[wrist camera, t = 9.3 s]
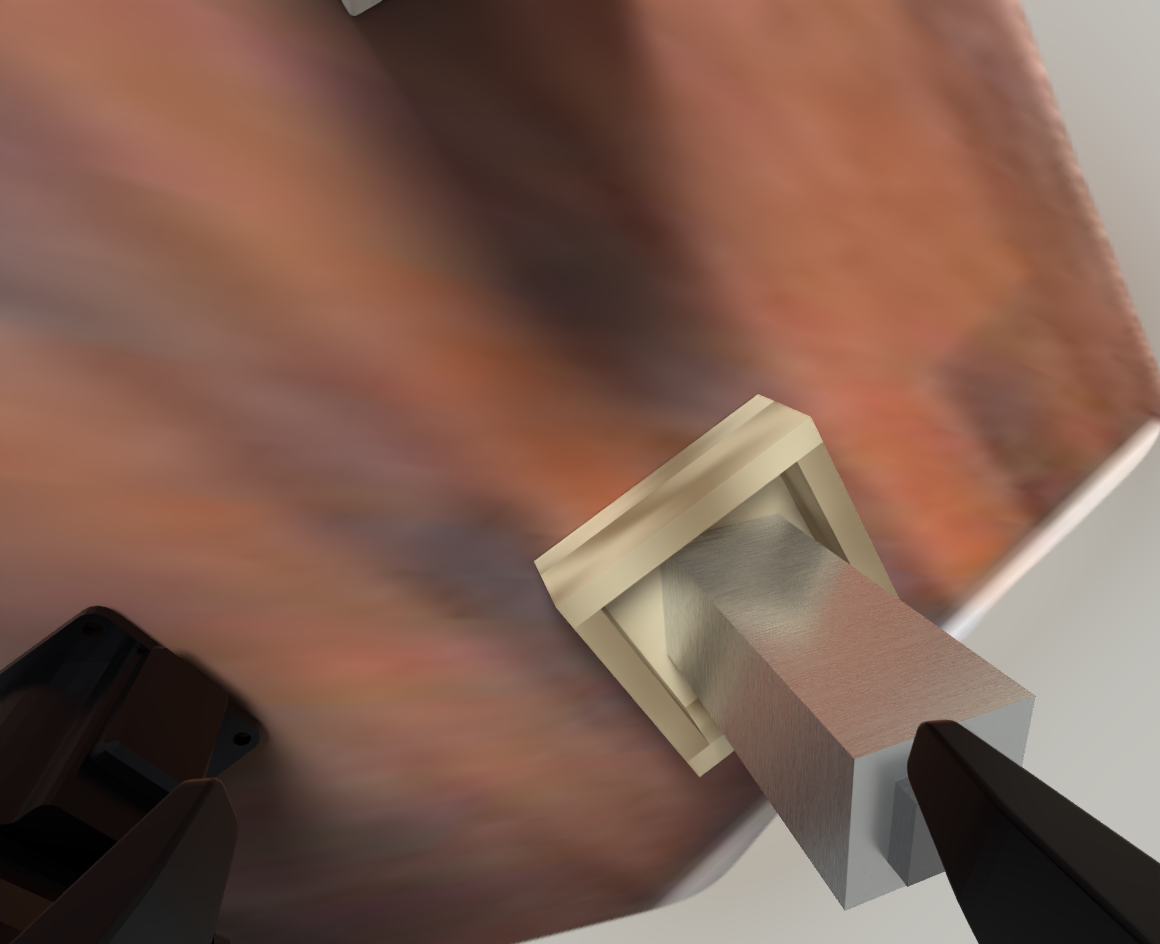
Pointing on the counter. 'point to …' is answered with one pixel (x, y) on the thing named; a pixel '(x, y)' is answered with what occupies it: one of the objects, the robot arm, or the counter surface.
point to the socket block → (828, 693)
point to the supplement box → (358, 5)
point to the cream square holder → (670, 521)
